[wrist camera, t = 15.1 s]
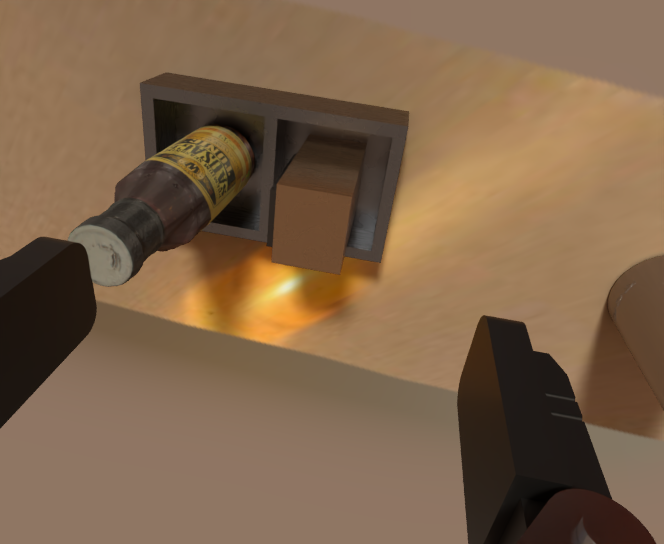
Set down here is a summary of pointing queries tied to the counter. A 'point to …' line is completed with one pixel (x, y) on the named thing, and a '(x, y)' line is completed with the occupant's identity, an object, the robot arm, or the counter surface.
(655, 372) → the robot arm
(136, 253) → the sauce bottle
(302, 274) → the counter surface
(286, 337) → the counter surface
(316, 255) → the two-compartment tray
